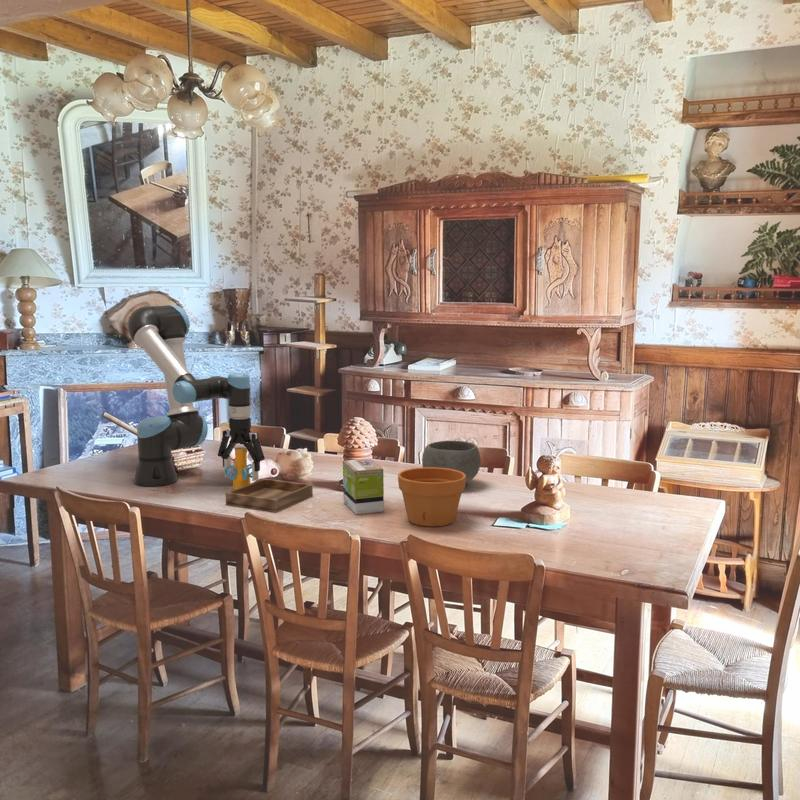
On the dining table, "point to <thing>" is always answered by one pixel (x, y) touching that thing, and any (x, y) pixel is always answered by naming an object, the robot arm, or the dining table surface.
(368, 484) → the tea box
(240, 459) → the orange toy with wheels
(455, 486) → the flower pot
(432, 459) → the bowl
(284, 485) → the tray
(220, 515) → the dining table surface
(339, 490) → the dining table surface
